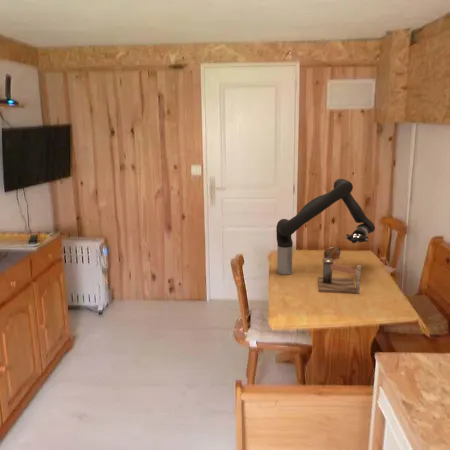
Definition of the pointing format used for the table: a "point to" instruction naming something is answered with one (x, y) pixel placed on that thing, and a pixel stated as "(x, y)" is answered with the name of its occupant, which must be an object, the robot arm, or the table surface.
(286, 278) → the table surface
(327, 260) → the capstan
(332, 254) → the tin
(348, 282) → the base
